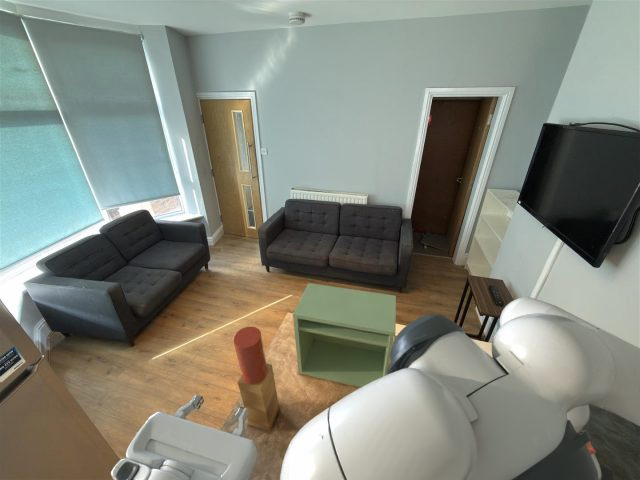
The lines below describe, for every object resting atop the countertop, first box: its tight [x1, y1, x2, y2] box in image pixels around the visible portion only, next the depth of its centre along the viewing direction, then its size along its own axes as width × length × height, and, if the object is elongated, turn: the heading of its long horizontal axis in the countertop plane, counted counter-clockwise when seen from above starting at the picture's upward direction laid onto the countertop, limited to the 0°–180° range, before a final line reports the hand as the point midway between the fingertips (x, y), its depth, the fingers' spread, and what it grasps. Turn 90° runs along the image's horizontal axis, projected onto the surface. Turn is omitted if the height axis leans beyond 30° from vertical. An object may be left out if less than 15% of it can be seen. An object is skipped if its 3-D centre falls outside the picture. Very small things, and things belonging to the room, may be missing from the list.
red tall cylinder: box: [232, 326, 268, 384], centre depth 59 cm, size 6×6×12 cm
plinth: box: [237, 362, 280, 432], centre depth 66 cm, size 6×6×18 cm
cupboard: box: [292, 282, 397, 389], centre depth 78 cm, size 14×26×24 cm, turn 75°
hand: (221, 403), depth 49 cm, fingers open, 8 cm apart
